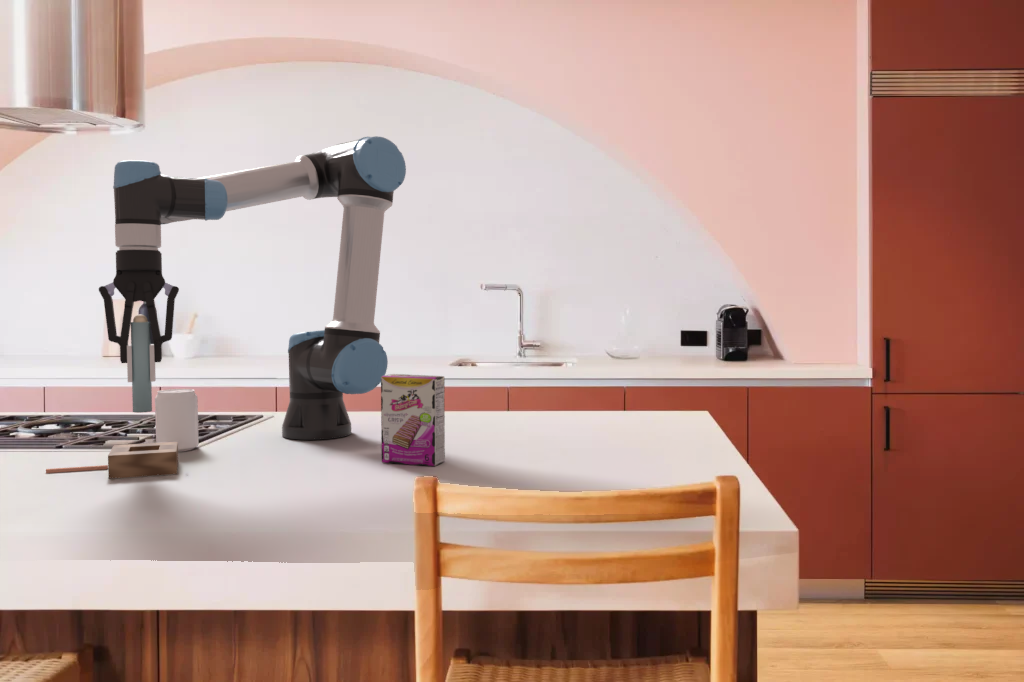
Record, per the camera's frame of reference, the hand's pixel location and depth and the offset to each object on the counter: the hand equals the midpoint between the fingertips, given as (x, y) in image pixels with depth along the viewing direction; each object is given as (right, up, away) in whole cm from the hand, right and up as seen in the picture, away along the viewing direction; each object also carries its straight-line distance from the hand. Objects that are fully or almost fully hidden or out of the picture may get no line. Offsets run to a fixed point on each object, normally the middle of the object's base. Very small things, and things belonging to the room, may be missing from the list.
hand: (141, 380), depth 159 cm
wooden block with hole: (0, -16, +1) cm, 16 cm away
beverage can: (-2, -15, +23) cm, 27 cm away
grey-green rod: (0, -5, 0) cm, 5 cm away
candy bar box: (+48, -16, +7) cm, 51 cm away
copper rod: (-12, -16, +1) cm, 20 cm away
